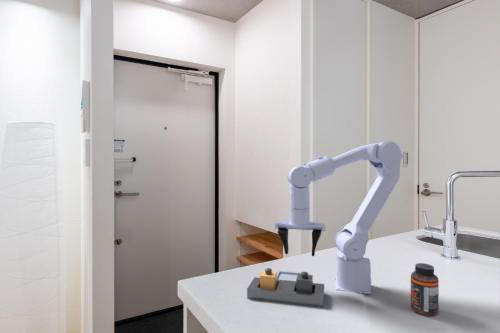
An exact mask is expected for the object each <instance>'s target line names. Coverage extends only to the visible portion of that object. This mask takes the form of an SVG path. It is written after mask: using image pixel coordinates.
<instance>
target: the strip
mask: <svg viewBox="0 0 500 333" xmlns="http://www.w3.org/2000/svg"><path fill="white" fill-rule="evenodd" d="M246 297H247V298H246V299H249V300H259V301H266V302H267V301H268V302H275V303H284V304H291V305H298V306H299V305H301V306H310V307H318V308H324V305H325V283H319V282H318V283H317V282H313V294H312V293H303V292H296V281H288V280H277V289H276V290H275V289H266V288H260V277H257V276H254V277H253V279H252V281H251V282H250V283H249V285H248V287H246Z"/></svg>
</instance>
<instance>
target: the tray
mask: <svg viewBox="0 0 500 333" xmlns="http://www.w3.org/2000/svg"><path fill="white" fill-rule="evenodd" d="M276 272H277V280H288V281H296V279H297V276H298V274H301V272H302V271H291V270H289V271H288V270H277V271H276ZM307 273H308V275H311V272H307Z"/></svg>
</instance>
